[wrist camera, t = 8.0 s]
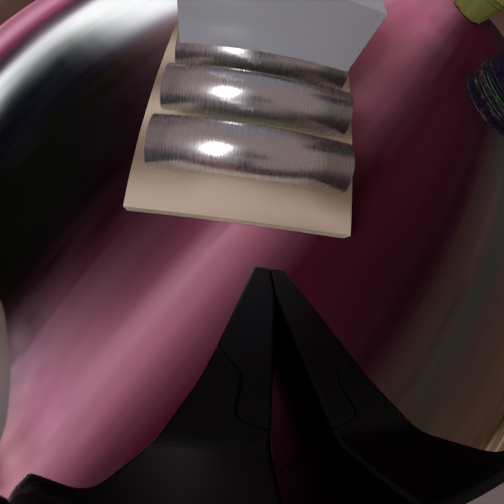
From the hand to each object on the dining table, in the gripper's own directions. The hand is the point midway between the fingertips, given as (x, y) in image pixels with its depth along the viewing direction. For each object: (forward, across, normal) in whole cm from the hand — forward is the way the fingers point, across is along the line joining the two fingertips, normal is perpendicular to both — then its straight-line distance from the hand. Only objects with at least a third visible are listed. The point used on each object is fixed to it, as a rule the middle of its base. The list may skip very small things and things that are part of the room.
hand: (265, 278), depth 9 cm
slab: (+19, 0, -9) cm, 21 cm away
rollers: (+19, 0, -3) cm, 19 cm away
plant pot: (+44, -35, -27) cm, 63 cm away
